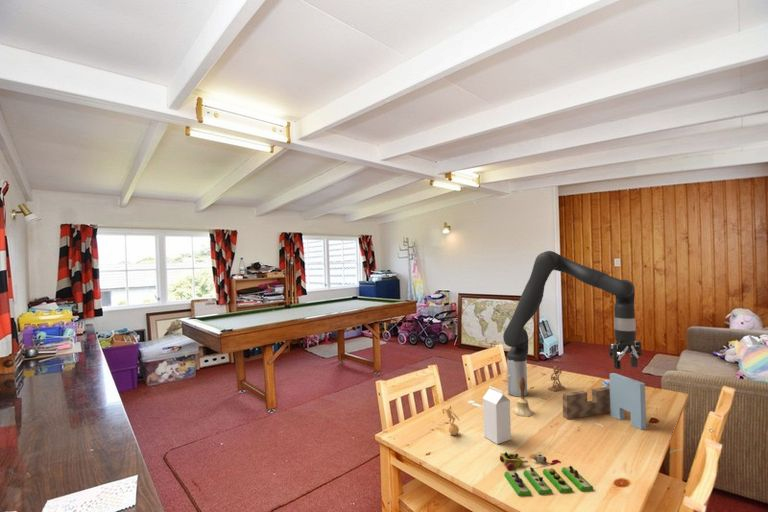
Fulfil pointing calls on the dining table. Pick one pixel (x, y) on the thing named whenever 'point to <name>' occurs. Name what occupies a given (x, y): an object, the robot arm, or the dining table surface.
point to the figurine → (453, 427)
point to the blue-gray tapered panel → (628, 399)
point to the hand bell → (522, 402)
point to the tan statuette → (558, 386)
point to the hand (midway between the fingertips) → (626, 367)
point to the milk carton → (496, 416)
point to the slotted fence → (586, 403)
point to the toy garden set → (537, 481)
